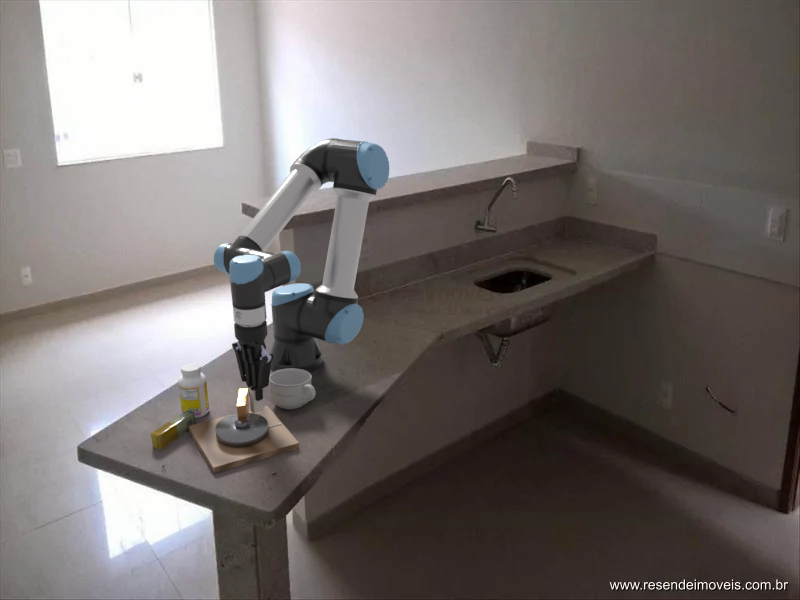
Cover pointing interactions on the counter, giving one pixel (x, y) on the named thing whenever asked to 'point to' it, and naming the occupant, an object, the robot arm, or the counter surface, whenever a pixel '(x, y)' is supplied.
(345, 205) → the robot arm
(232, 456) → the board
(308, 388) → the teacup
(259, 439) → the dial
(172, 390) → the counter surface
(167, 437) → the medication box
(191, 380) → the supplement bottle
